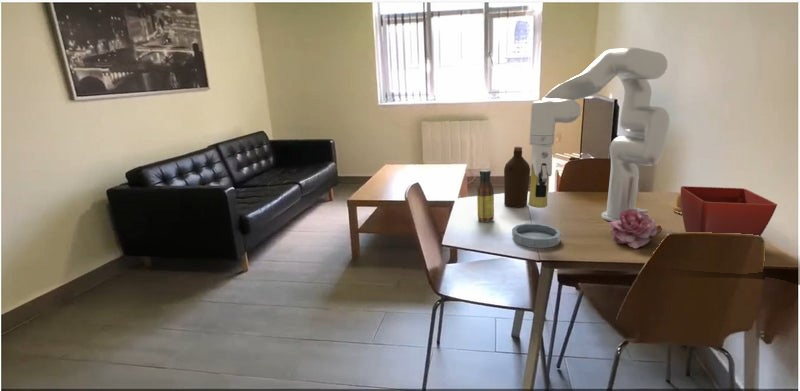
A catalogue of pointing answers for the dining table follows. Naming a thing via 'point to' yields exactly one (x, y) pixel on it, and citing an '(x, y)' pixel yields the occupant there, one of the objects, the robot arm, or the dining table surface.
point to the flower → (634, 228)
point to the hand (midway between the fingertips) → (538, 193)
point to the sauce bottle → (485, 197)
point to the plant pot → (725, 210)
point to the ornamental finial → (678, 204)
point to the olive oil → (516, 180)
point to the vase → (533, 200)
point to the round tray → (536, 235)
